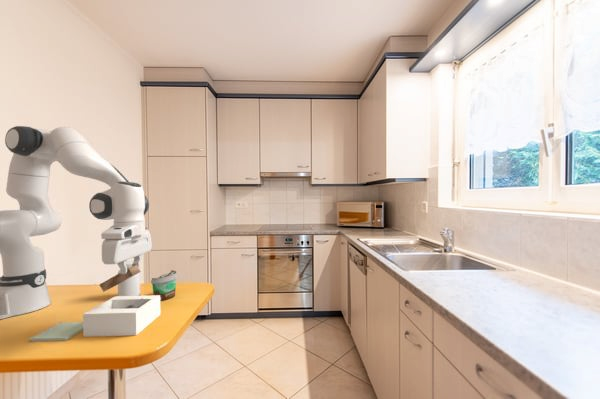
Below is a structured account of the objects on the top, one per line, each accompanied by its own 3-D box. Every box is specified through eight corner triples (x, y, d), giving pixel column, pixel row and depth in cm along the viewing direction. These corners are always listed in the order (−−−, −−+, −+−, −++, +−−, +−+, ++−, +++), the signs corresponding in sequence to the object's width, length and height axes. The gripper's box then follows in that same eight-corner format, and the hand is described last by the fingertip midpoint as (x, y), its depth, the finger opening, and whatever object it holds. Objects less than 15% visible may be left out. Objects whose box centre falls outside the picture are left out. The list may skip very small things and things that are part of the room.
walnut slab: (103, 291, 83) (99, 284, 83) (112, 287, 87) (108, 280, 87) (132, 275, 83) (128, 268, 83) (140, 271, 87) (136, 264, 87)
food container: (164, 304, 102) (163, 279, 102) (151, 302, 103) (150, 278, 103) (184, 292, 114) (183, 270, 114) (172, 291, 115) (171, 269, 115)
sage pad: (29, 341, 76) (29, 338, 76) (60, 324, 86) (60, 322, 86) (66, 340, 76) (66, 337, 76) (93, 323, 86) (93, 321, 86)
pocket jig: (83, 336, 78) (82, 313, 78) (115, 315, 92) (115, 296, 92) (136, 335, 78) (135, 312, 78) (160, 314, 92) (160, 295, 92)
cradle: (103, 327, 82) (100, 321, 82) (115, 319, 88) (112, 314, 88) (136, 309, 83) (133, 304, 83) (146, 302, 88) (143, 297, 88)
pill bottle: (123, 301, 104) (122, 265, 104) (114, 298, 109) (113, 263, 109) (143, 295, 111) (143, 261, 111) (134, 292, 115) (133, 259, 115)
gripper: (139, 226, 95) (139, 262, 95) (96, 234, 75) (97, 280, 75) (156, 226, 95) (156, 262, 96) (118, 234, 75) (118, 280, 75)
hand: (130, 270), depth 85 cm, fingers closed on walnut slab, 4 cm apart
